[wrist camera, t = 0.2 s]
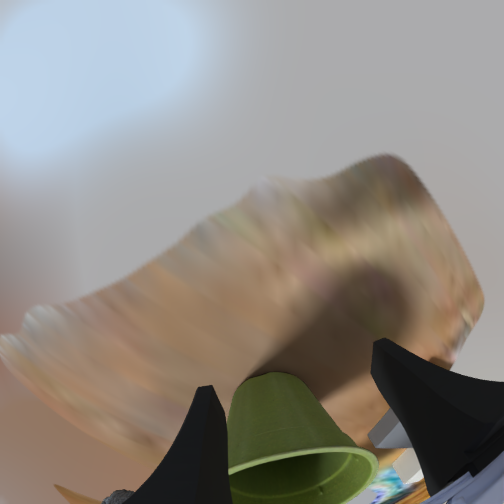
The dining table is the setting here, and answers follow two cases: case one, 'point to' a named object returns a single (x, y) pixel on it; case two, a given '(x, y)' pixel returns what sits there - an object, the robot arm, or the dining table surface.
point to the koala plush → (118, 497)
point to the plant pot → (291, 447)
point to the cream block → (408, 467)
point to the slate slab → (389, 433)
